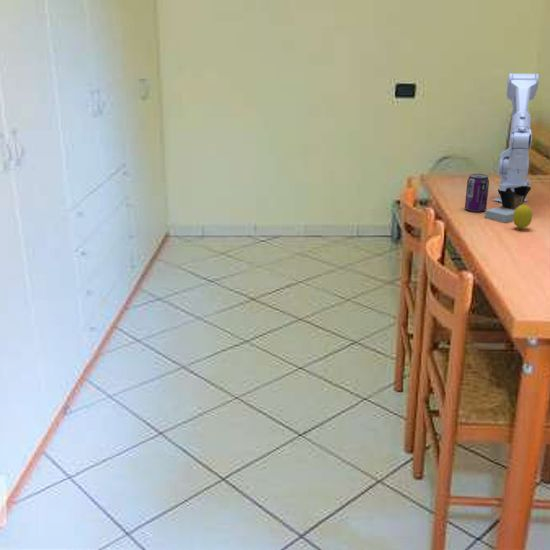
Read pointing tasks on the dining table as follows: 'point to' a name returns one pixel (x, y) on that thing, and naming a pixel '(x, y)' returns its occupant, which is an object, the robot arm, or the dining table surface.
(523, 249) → the dining table surface
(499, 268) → the dining table surface
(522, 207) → the lemon
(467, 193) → the beverage can
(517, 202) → the walnut block
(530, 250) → the dining table surface
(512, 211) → the grey base
